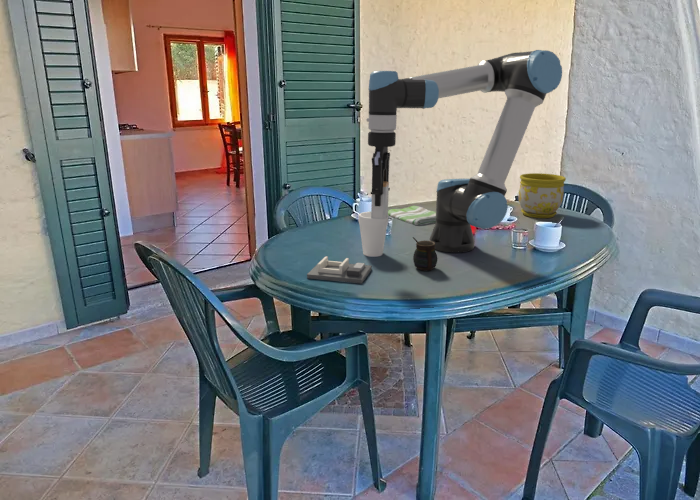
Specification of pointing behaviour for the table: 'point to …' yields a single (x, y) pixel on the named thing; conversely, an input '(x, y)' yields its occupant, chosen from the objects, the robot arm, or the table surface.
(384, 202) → the plug
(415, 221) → the dish towel
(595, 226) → the table surface
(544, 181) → the flowerpot
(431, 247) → the mate gourd
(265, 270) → the table surface
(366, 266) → the board
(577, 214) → the table surface
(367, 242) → the foam cup
